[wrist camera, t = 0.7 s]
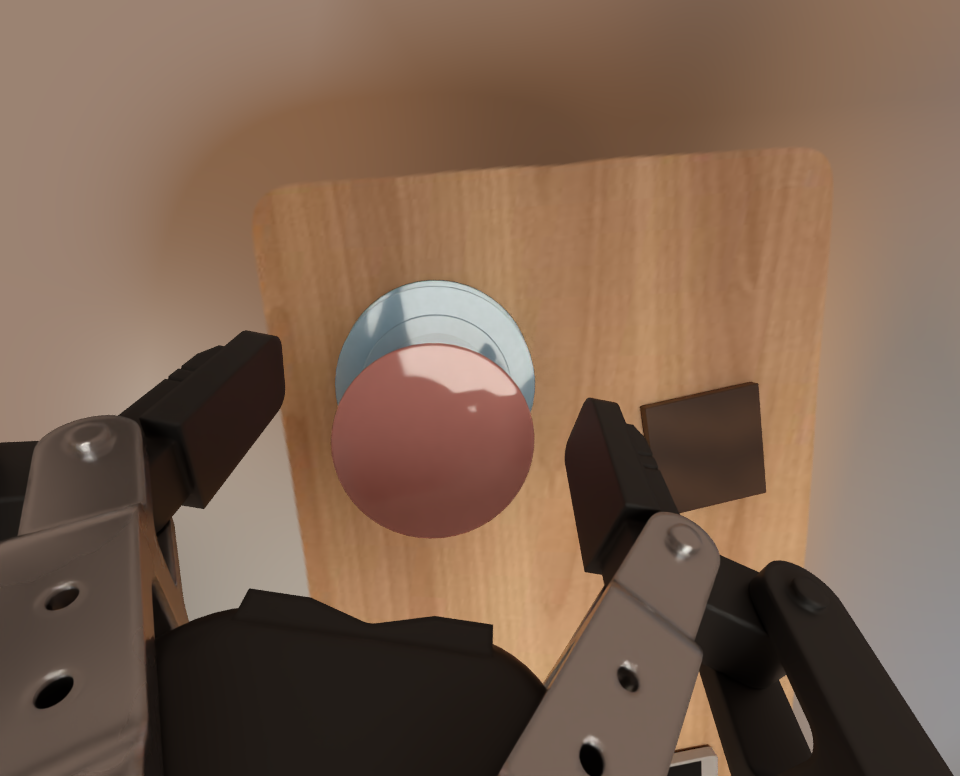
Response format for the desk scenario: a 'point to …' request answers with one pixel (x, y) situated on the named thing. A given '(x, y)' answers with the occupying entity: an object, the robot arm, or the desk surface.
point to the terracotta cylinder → (432, 438)
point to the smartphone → (694, 763)
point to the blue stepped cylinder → (436, 330)
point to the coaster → (708, 445)
